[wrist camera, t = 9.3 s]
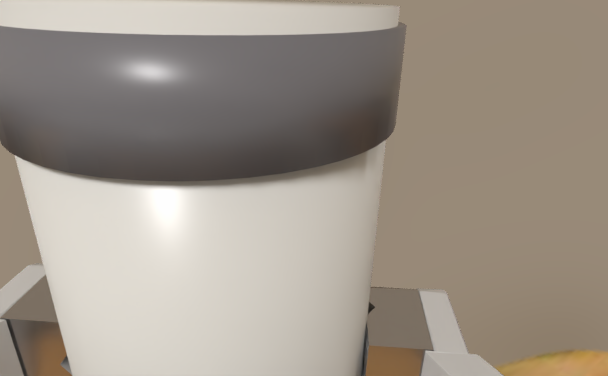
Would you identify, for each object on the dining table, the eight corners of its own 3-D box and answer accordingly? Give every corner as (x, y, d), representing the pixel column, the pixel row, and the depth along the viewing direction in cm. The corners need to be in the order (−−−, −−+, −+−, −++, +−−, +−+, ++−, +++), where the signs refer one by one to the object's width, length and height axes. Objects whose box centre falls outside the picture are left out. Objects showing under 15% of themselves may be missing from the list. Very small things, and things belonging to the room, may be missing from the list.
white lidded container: (344, 456, 13) (386, 2, 8) (346, 721, 8) (456, 15, 3) (174, 441, 13) (109, -5, 8) (82, 688, 8) (-204, -3, 3)
